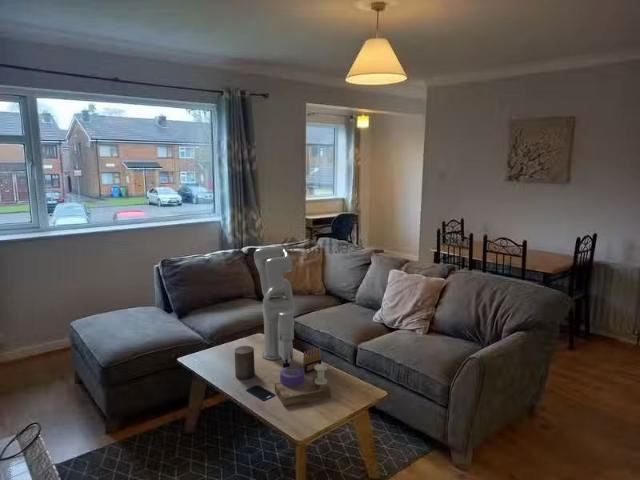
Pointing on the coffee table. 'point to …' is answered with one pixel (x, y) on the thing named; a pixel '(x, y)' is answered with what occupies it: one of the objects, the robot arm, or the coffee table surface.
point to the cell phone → (260, 392)
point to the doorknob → (320, 374)
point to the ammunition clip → (311, 360)
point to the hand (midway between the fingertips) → (286, 370)
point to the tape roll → (292, 376)
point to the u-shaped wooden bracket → (302, 394)
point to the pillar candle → (244, 362)
